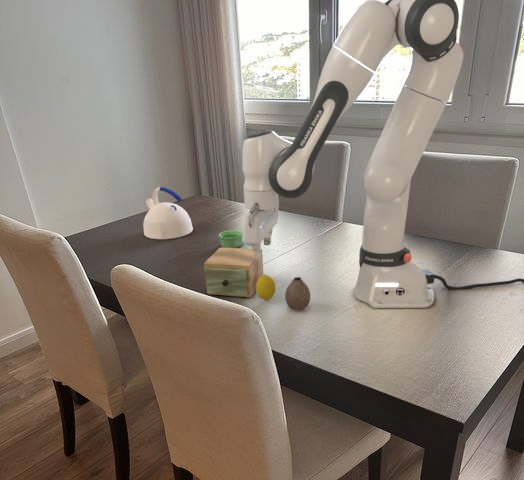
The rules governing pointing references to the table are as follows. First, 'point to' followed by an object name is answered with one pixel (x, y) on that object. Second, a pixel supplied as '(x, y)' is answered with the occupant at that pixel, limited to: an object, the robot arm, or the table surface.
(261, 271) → the cabinet
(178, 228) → the kettle
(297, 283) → the vase
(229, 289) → the drawer
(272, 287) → the lemon
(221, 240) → the ramekin
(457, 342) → the table surface
